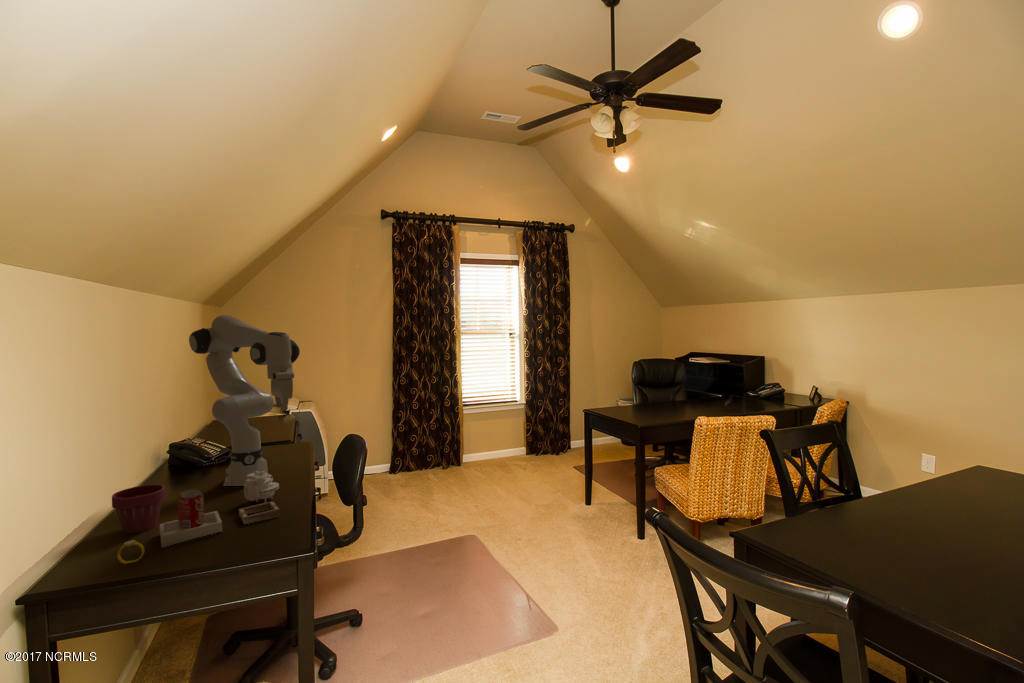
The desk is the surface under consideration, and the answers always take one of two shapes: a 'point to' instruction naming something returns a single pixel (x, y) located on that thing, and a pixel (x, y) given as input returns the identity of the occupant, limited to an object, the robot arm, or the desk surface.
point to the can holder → (260, 516)
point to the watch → (126, 544)
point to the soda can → (190, 509)
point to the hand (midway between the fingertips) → (282, 408)
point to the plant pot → (138, 507)
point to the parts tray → (189, 530)
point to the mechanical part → (259, 486)
